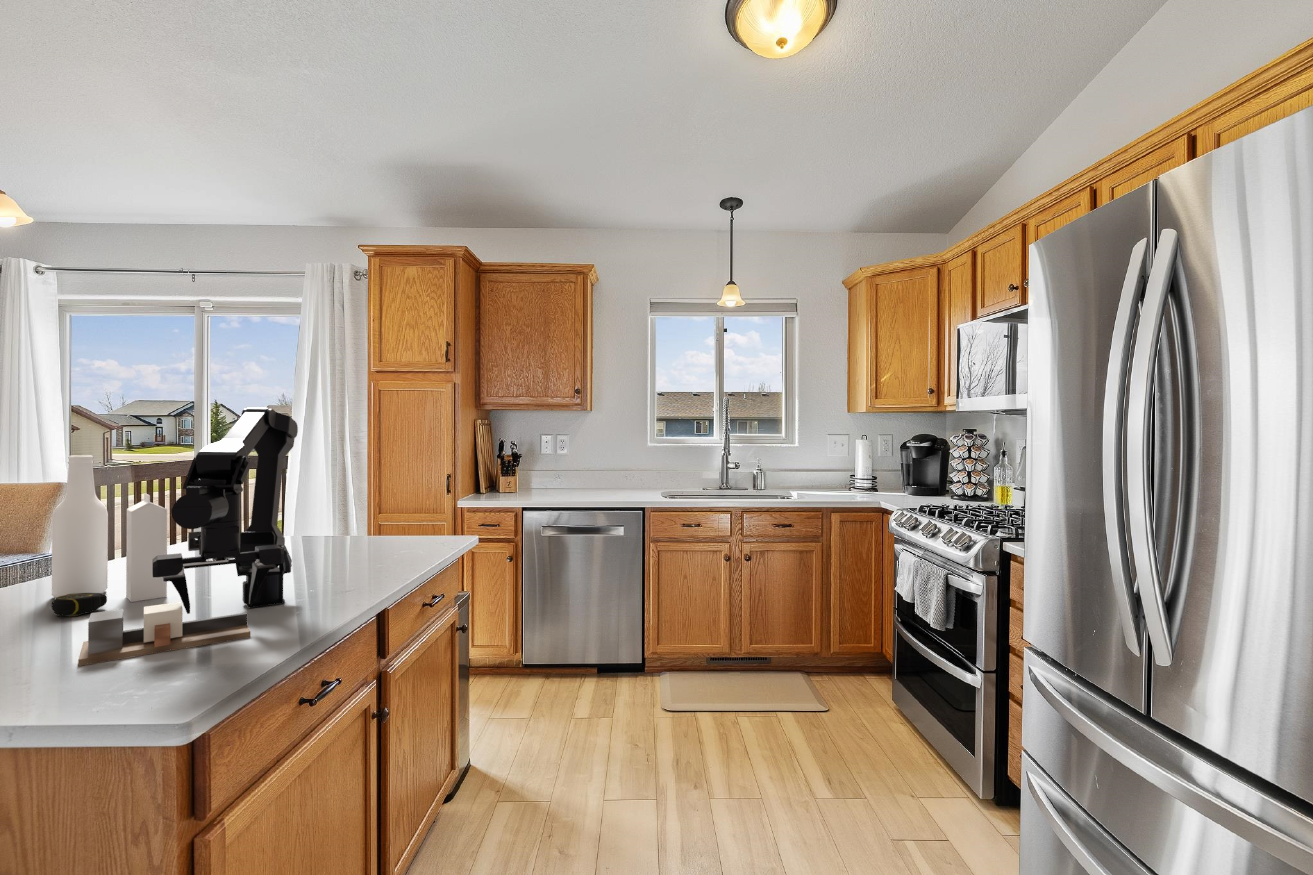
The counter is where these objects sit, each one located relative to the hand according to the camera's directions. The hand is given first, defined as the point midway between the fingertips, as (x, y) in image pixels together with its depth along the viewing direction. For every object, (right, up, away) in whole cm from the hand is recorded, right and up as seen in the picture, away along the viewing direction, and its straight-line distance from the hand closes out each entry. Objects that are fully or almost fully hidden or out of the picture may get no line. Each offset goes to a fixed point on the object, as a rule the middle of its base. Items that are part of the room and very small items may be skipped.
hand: (220, 608), depth 109 cm
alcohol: (-47, -4, +24) cm, 53 cm away
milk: (-32, -4, +23) cm, 40 cm away
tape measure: (-36, -4, +11) cm, 38 cm away
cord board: (-6, -5, -4) cm, 8 cm away
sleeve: (-6, -3, -5) cm, 8 cm away
